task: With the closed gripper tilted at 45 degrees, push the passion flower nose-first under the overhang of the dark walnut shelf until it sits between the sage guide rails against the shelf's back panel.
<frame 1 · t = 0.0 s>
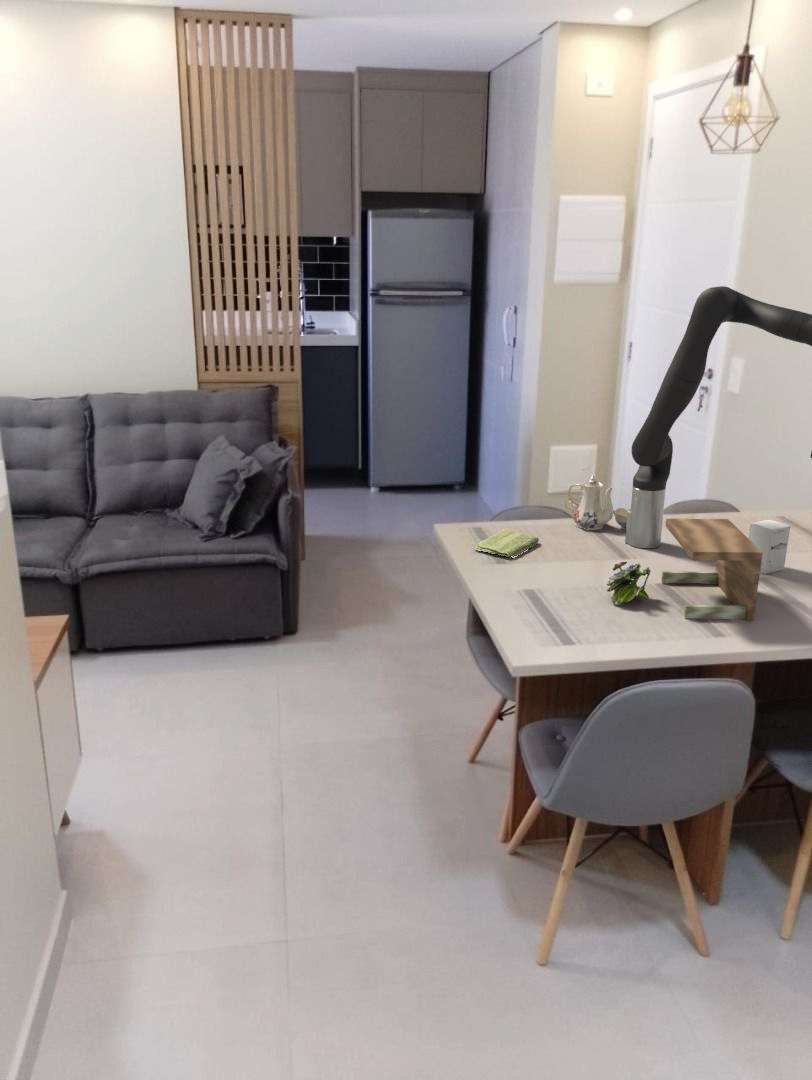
shelf: (693, 599, 218), on the table
passion flower: (628, 599, 219), on the table
chinaware: (595, 524, 276), on the table
washcloth: (507, 549, 255), on the table
supplement box: (764, 569, 239), on the table
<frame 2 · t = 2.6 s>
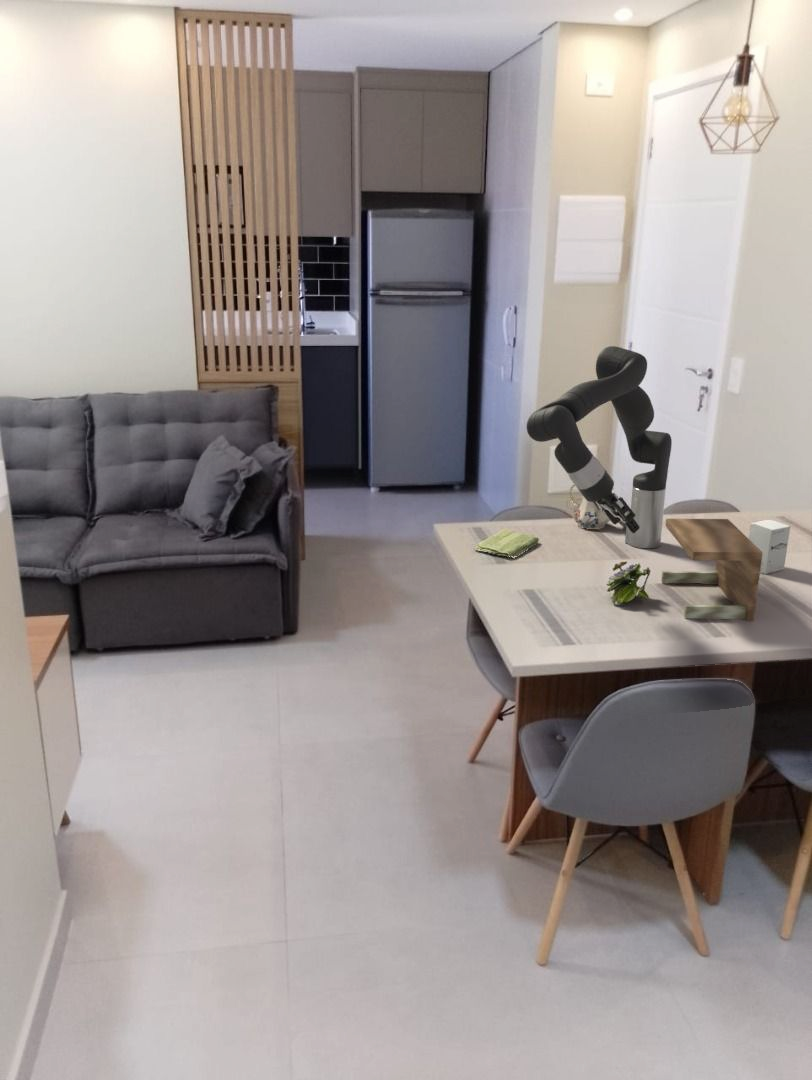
hand: (626, 526, 208), 21 cm above the table, tool tilted 40°, fingers open, 8 cm apart
nothing on the table moved.
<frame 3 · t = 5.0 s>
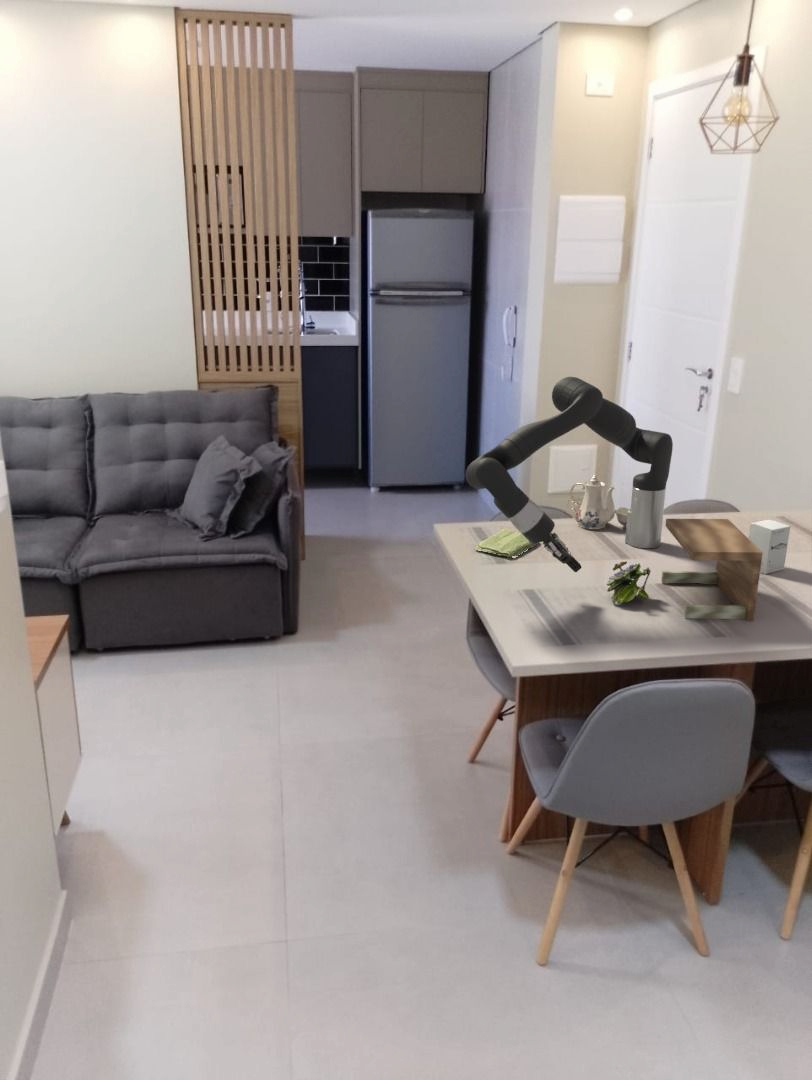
hand: (578, 569, 216), 8 cm above the table, tool tilted 45°, fingers closed
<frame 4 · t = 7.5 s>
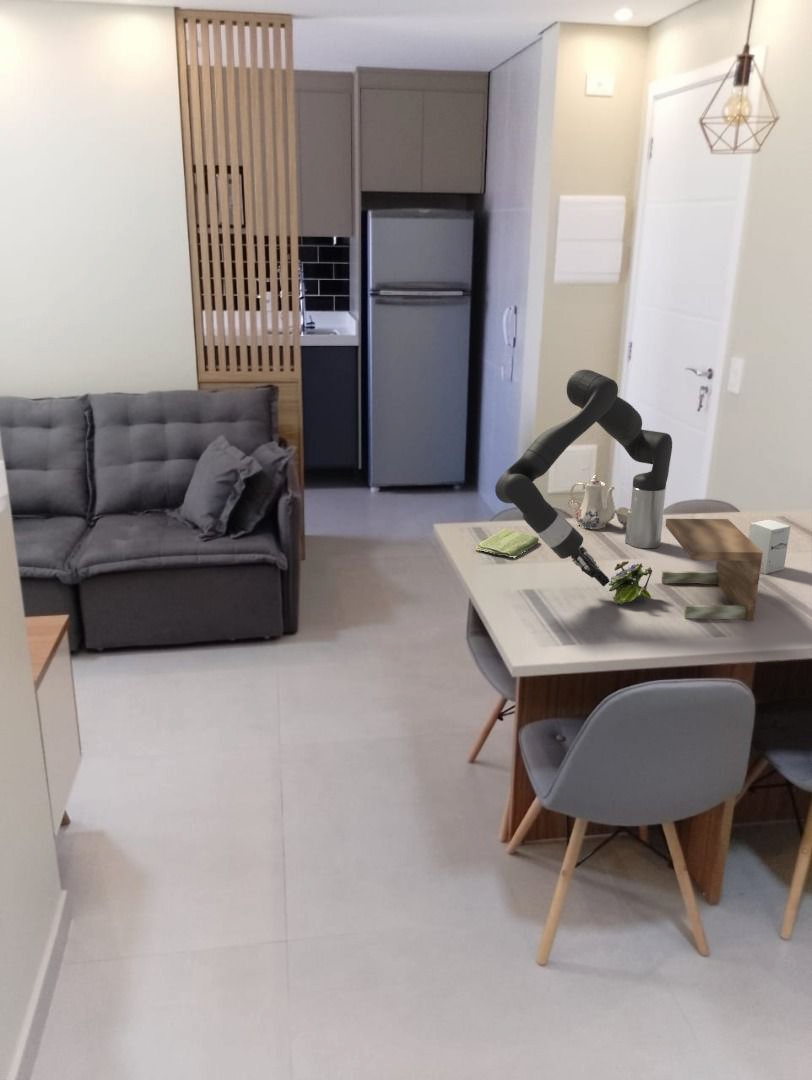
hand: (606, 582, 218), 4 cm above the table, tool tilted 45°, fingers closed
passion flower: (630, 599, 219), on the table, touching gripper
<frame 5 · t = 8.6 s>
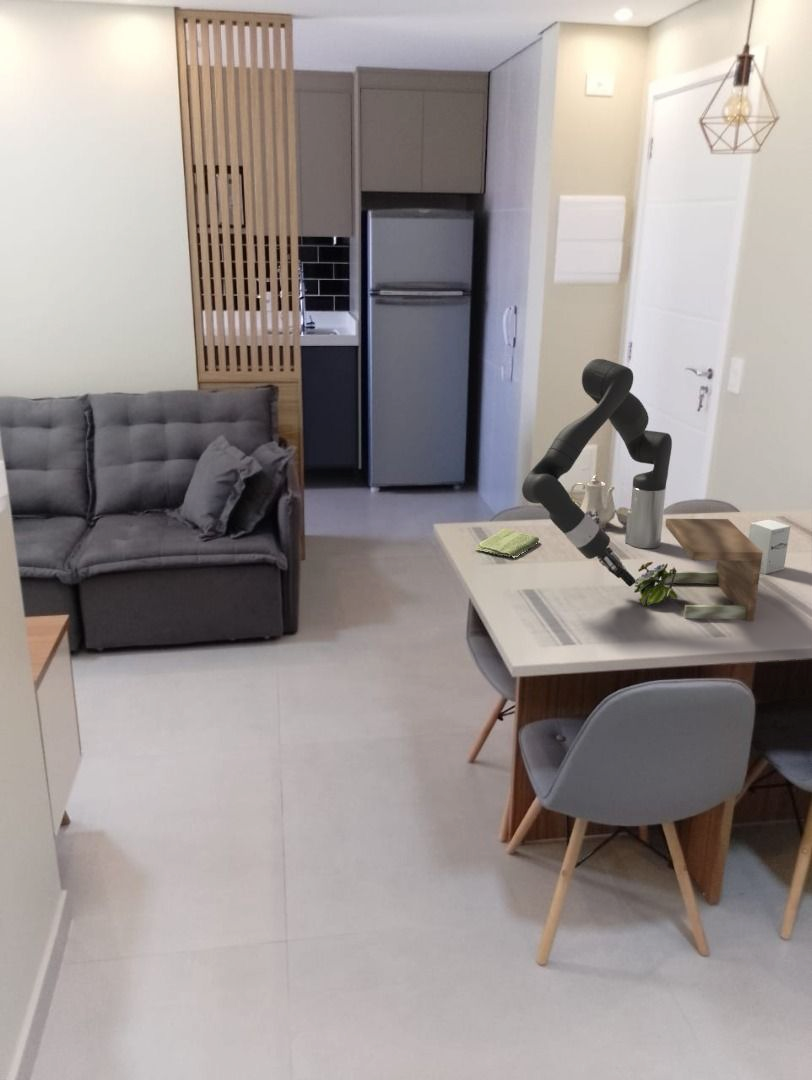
hand: (632, 583, 217), 4 cm above the table, tool tilted 45°, fingers closed
passion flower: (655, 600, 218), on the table, touching gripper
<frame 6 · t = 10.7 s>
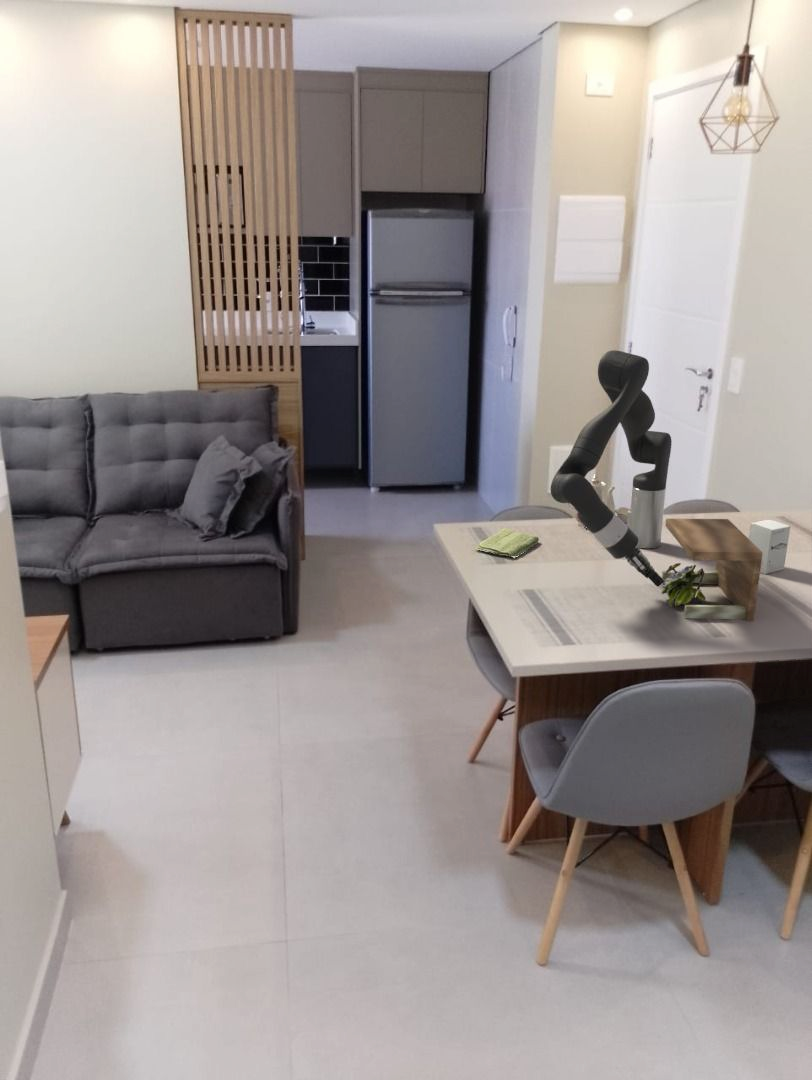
hand: (660, 583, 217), 4 cm above the table, tool tilted 45°, fingers closed
passion flower: (683, 601, 217), on the table, touching gripper
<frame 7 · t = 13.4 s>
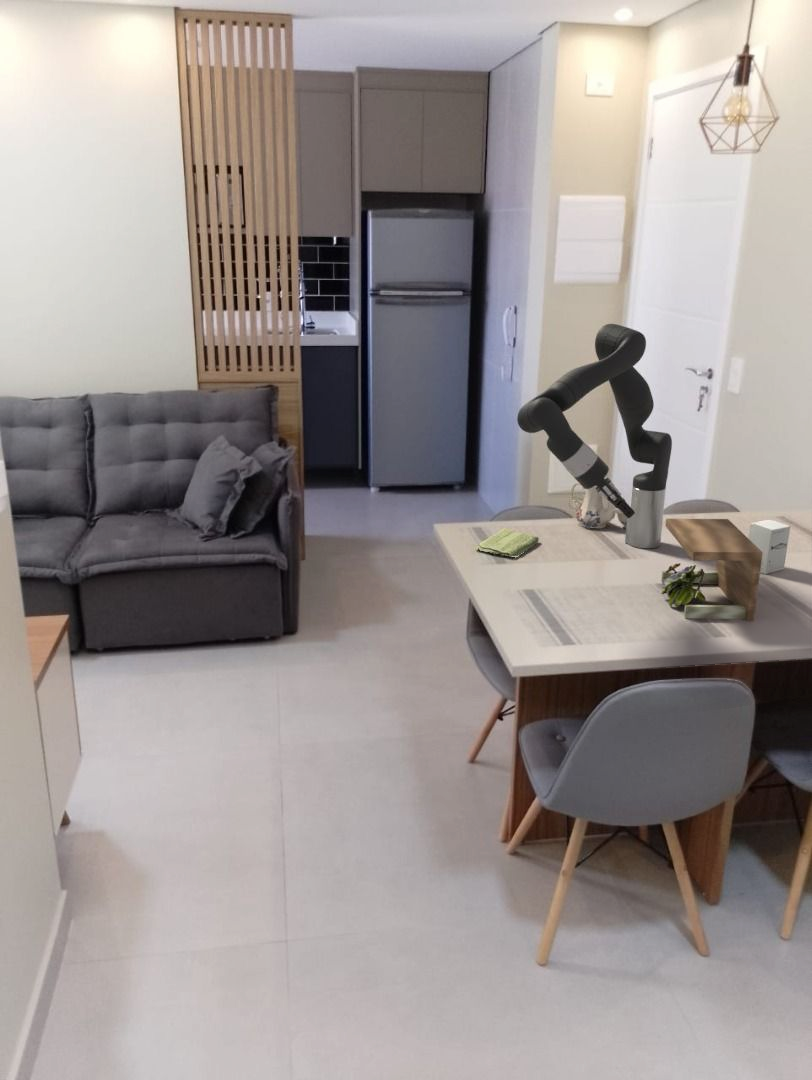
hand: (631, 514, 212), 22 cm above the table, tool tilted 45°, fingers closed
passion flower: (683, 602, 217), on the table
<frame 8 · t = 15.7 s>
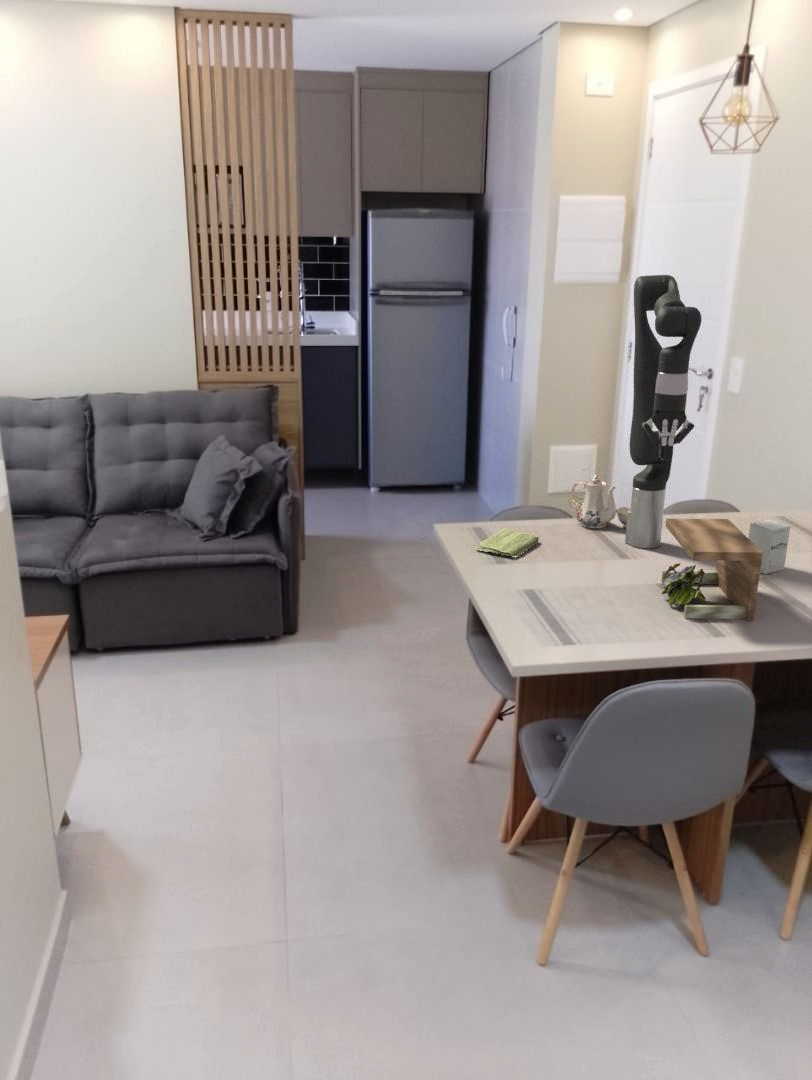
hand: (664, 459, 221), 32 cm above the table, tool pointing down, fingers closed
at the end: passion flower 3.0 cm from the shelf (horizontally); passion flower tilted 2° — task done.
